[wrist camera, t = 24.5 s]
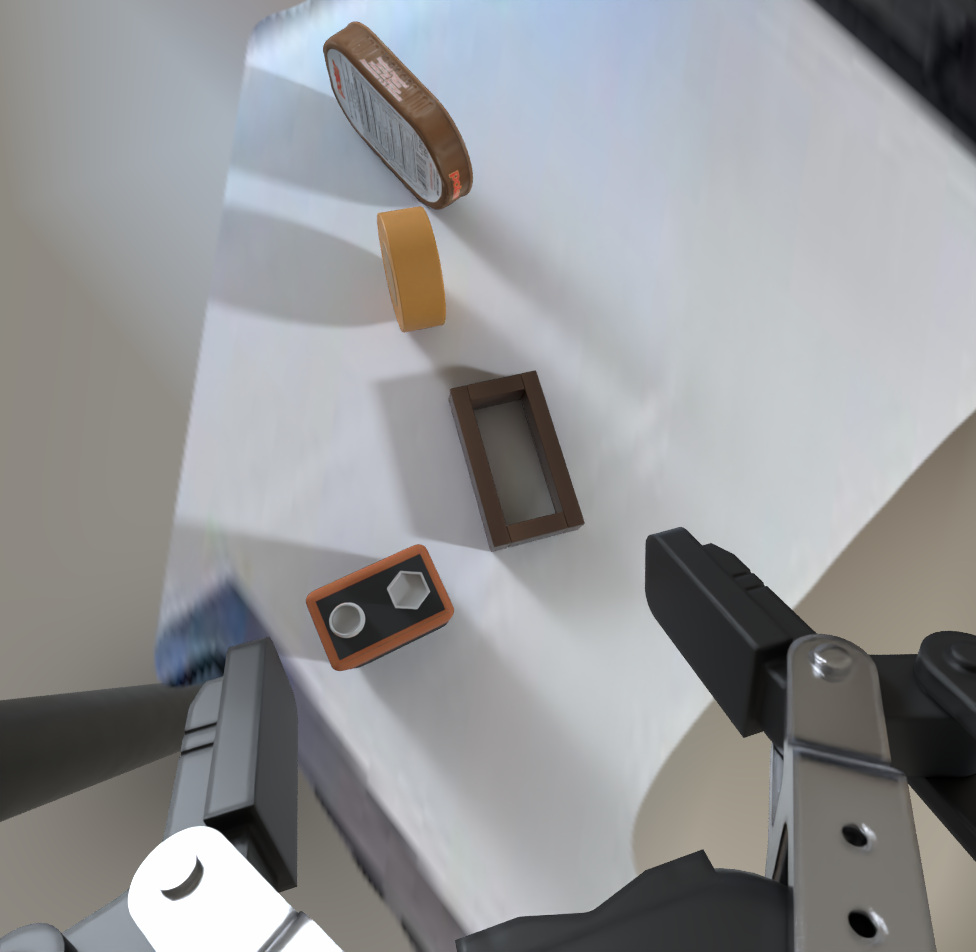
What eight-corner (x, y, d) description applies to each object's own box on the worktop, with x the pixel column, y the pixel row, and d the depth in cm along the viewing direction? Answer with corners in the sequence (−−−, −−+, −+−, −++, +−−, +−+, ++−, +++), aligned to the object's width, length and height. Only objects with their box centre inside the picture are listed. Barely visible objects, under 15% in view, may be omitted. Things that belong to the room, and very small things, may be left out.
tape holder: (490, 552, 42) (493, 547, 40) (448, 399, 45) (449, 388, 43) (578, 529, 43) (585, 523, 41) (531, 381, 46) (536, 369, 44)
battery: (450, 623, 41) (458, 614, 31) (354, 670, 39) (331, 676, 30) (423, 563, 42) (422, 536, 32) (328, 607, 40) (297, 593, 31)
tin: (472, 216, 50) (481, 131, 42) (441, 235, 49) (445, 153, 41) (356, 94, 52) (344, -9, 44) (326, 111, 51) (308, 9, 43)
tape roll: (408, 353, 43) (389, 240, 37) (389, 301, 48) (370, 196, 43) (451, 345, 43) (439, 232, 38) (427, 294, 49) (414, 189, 43)
